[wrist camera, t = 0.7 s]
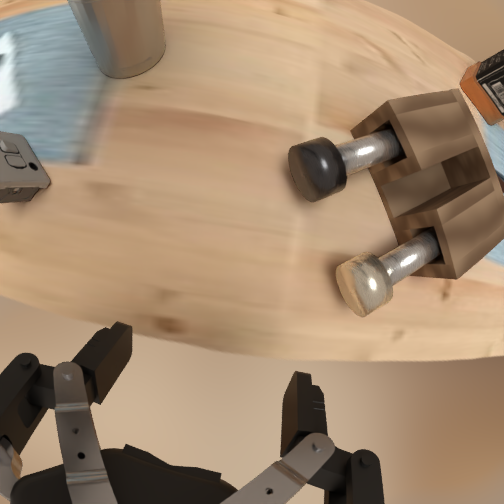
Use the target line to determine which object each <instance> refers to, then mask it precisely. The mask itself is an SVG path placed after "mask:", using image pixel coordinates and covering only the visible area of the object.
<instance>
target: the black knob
mask: <svg viewBox="0 0 504 504" xmlns="http://www.w3.org/2000/svg"><path fill="white" fill-rule="evenodd" d="M403 154H406V153H405V151H404V149H403V147H402V145H401V143H400V140H399V138H398V136H397V134H396V132H395V130H394V128H391V129H388V130H384V131H381V132H377V133H374V134H371V135H367V136H364V137H361V138H357V139H354V140H351V141H348V142H344V143H341V144H338V145H334V144H333V143H332V142H331V141H330V140H328V139H327V138H324V137H320V138H317V139H313V140H310V141H307V142H304V143H301V144H298V145H295V146H292V147H291V148H290V150H289V153H288V161H289V167H290V171H291V174H292V177H293V179H294V181H295V184H296V186H297V187H298V189H299V191H300V192H301V193H302V195H303V196H304V197H305V198H306V199H307V200H309V201H310V202H316V201H318V200H321V199H323V198H325V197H328V196H330V195H333V194H335V193H338V192H340V191H342V190H343V189H344V188H345V186H346V181H347V175H350V174H352V173H355V172H357V171H360V170H363V169H365V168H368V167H371V166H373V165H376V164H379V163H382V162H384V161H387V160H390V159H392V158H395V157H398V156H401V155H403Z"/></svg>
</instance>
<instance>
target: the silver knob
mask: <svg viewBox="0 0 504 504" xmlns="http://www.w3.org/2000/svg"><path fill="white" fill-rule="evenodd" d="M440 254H442V250H441V247H440V244H439V240H438V237H437V234H436V231H435V228H434V226H433V227H431V228H429V229H428V230H426V231H424V232H423V233H421V234H419V235H418V236H416V237H414V238H413V239H411V240H409V241H408V242H406V243H404V244H402V245H401V246H399V247H397V248H395V249H394V250H392V251H390V252H388V253H387V254H385V255H383V256H381V257H379V258H377V257H376V256H374V255H373V254H371V253H369V252H364V253H362V254H360V255H358V256H356V257H354V258H352V259H350V260H349V261H347V262H345V263H343V264H341V265H339V266H338V267H337V269H336V280H337V284H338V287H339V289H340V292H341V294H342V296H343V298H344V300H345V302H346V303H347V305H348V306H349V307H350V309H351V310H352V311H353V312H354V313H355V314H357V315H358V316H360V317H365V316H367V315H369V314H370V313H372V312H373V311H375V310H377V309H378V308H380V307H382V306H383V305H385V304H386V303H388V302H389V301H390V300H391V299H392V296H393V287H392V286H393V285H395V284H396V283H398V282H399V281H401V280H403V279H404V278H406V277H407V276H409V275H410V274H412V273H413V272H415V271H416V270H418V269H420V268H421V267H423V266H424V265H426V264H427V263H429V262H430V261H431V260H433V259H434V258H436V257H437V256H439V255H440Z"/></svg>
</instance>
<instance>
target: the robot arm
mask: <svg viewBox="0 0 504 504" xmlns="http://www.w3.org/2000/svg"><path fill="white" fill-rule="evenodd" d="M68 3H69V5H70V7H71V9H72V11H73V14H74V16H75V18H76V20H77V22H78V25H79V27H80V29H81V31H82V33H83V35H84V37H85V39H86V41H87V44H88V46H89V48H90V50H91V52H92V54H93V56H94V58H95V60H96V62H97V64H98V66H99V68H100V70H101V71H102V72H103V73H104V74H105V75H108V76H110V77H114V78H127V77H132V76H135V75H138V74H141V73H143V72H145V71H147V70H148V69H150V68H151V67H153V66H154V65H155V64H156V63H157V62H158V61H159V60H160V58H161V57H162V55H163V53H164V51H165V46H166V45H165V37H164V29H163V19H162V11H161V2H160V0H68ZM131 354H132V326H130V325H127V324H124V323H121V322H119V321H117V322H116V323H115V324H114V325H113V326H112V327H111V329H108V328H106V327H105V328H103V329H101V330H99V331H97V332H96V333H95V335H94V336H93V337H92V339H90V340H89V341H88V342H87V344H86V345H85V346H84V347H83V348H82V349H81V350H80V352H79V353H78V354H77V355H76V356H75V357H74V359H73V360H72V361H71V362H62V363H60V364H58V365H57V366H56V367H52V366H47V365H43V364H40V363H39V360H38V358H37V357H36V356H35V355H34V354H31V353H22V354H19V355H18V356H17V357H15V358H14V360H13V361H12V362H11V363H10V364H9V365H8V366H7V367H6V368H5V369H4V371H3V372H2V373H1V374H0V495H2V496H3V497H5V498H6V499H7V500H9V501H10V504H286V503H287V502H288V501H289V500H290V499H291V498H292V497H293V496H294V495H295V494H296V493H297V492H298V491H299V490H300V489H301V488H302V487H303V486H304V485H305V484H306V483H307V484H310V485H313V486H315V487H318V488H321V489H324V504H384V494H383V484H382V476H381V468H380V461H379V458H378V457H377V456H376V454H374V453H373V452H371V451H369V450H365V449H361V450H357V451H356V452H354V453H353V454H352V453H350V452H347V451H344V450H341V449H339V448H337V447H336V446H335V445H334V443H333V441H332V440H331V438H329V437H328V433H327V422H326V412H325V404H324V394H323V392H322V391H321V389H320V387H319V386H316V385H312V380H311V374H308V373H303V372H298V371H295V372H294V374H293V376H292V378H291V381H290V383H289V385H288V387H287V389H286V392H285V394H284V398H283V406H282V407H283V408H282V430H281V451H280V457H282V459H281V460H280V461H276V462H275V463H273V464H272V465H271V466H269V467H268V468H267V469H266V470H264V471H263V472H262V473H261V474H260V475H258V476H257V477H256V478H254V479H253V480H252V481H250V482H249V483H248V484H247V485H245V486H244V487H243V488H241V489H240V490H237V489H236V488H235V487H233V486H232V485H231V484H229V483H227V482H226V481H224V480H221V479H220V478H221V473H218V472H213V471H209V470H205V469H201V468H198V467H183V466H172V465H169V464H167V463H165V462H164V461H162V460H160V459H159V458H157V457H155V456H153V455H152V454H150V453H148V452H146V451H143V450H141V449H138V448H135V447H132V446H130V445H128V444H126V445H125V447H124V449H116V448H112V449H103V450H101V448H100V445H99V441H98V438H97V435H96V430H95V427H94V422H93V418H92V414H91V410H90V406H91V404H92V403H93V402H95V403H98V404H100V405H101V403H102V402H103V400H104V399H105V397H106V395H107V394H108V392H109V391H110V389H111V388H112V386H113V385H114V383H115V381H116V380H117V378H118V377H119V375H120V374H121V372H122V371H123V369H124V368H125V366H126V365H127V363H128V362H129V360H130V357H131ZM48 408H50V409H54V410H55V417H56V424H57V431H58V437H59V443H60V448H61V453H62V458H63V463H64V464H61V465H58V466H55V467H52V468H49V469H46V470H43V471H40V472H36V473H33V474H30V475H26V476H23V477H22V478H21V477H20V474H21V470H22V460H21V458H20V456H19V455H20V453H21V452H22V450H23V449H24V447H25V445H26V443H27V442H28V440H29V439H30V437H31V435H32V434H33V432H34V430H35V429H36V427H37V426H38V424H39V422H40V421H41V419H42V418H43V416H44V415H45V413H46V412H47V410H48Z"/></svg>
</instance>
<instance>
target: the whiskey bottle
mask: <svg viewBox="0 0 504 504" xmlns="http://www.w3.org/2000/svg"><path fill="white" fill-rule="evenodd" d="M460 85H461V88H462V90H463V91H464V92H465V93H466V95H467V96H468V97H469V98H470V100H471V101H472V102H473V104H474V105H475V106H476V108H477V109H478V110H479V112H480V113H481V114H482V116H483V117H484V119H485V120H486V121H487V123H488V124H489V125H491V126H492V125H494V124H496V123H498V122H500V121H502V120H504V50H502V51H500V52H498V53H497V54H495V55H493V56H492V57H490V58H488V59H486V60H485V61H483V62H477V63H475V64H474V65H472V66H470V67H469V68H468V69H467V71H466V73H465V75H464V76H463V78H462V80H461V82H460Z"/></svg>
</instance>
